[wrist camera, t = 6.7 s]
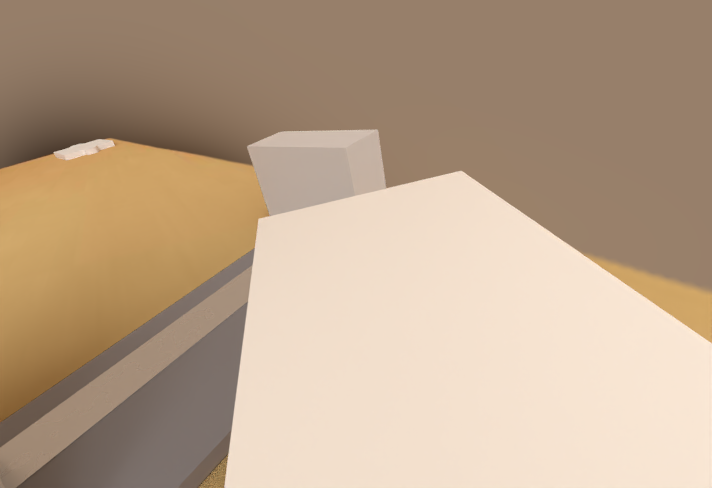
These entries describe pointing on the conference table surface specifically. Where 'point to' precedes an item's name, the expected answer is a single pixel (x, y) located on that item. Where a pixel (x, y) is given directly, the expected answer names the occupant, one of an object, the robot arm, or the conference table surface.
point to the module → (316, 167)
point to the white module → (457, 355)
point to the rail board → (141, 401)
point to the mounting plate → (83, 149)
